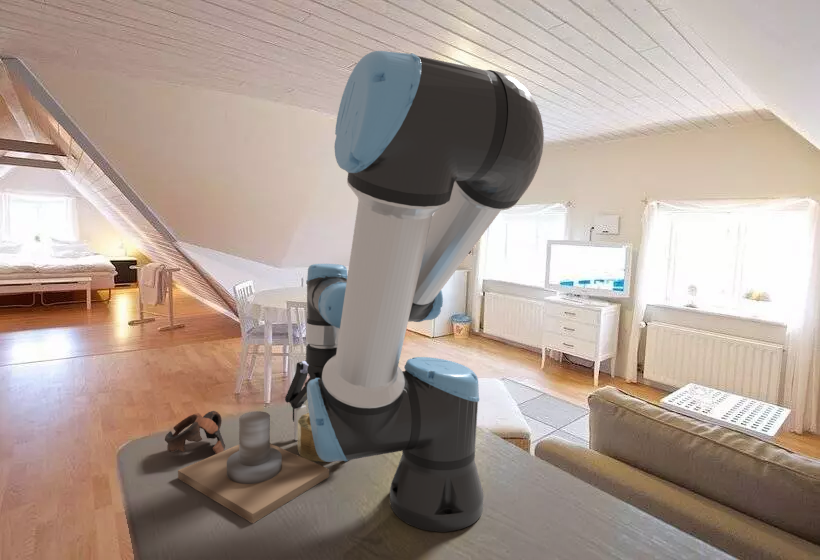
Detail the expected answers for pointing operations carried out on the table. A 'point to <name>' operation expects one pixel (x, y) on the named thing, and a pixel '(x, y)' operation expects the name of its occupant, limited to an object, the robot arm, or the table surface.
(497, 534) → the table surface
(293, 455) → the stand
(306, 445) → the brass ring
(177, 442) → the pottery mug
